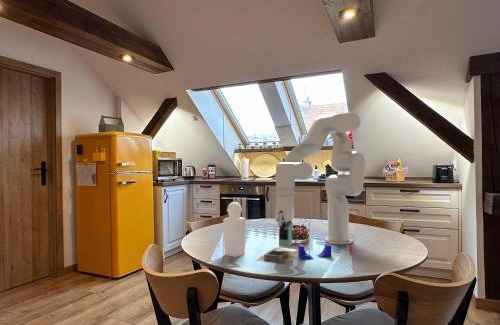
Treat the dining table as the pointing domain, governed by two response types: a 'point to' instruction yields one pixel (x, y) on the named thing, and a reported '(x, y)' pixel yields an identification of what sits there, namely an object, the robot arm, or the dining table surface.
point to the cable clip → (324, 253)
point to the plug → (289, 240)
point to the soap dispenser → (234, 231)
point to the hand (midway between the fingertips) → (285, 237)
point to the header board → (279, 255)
